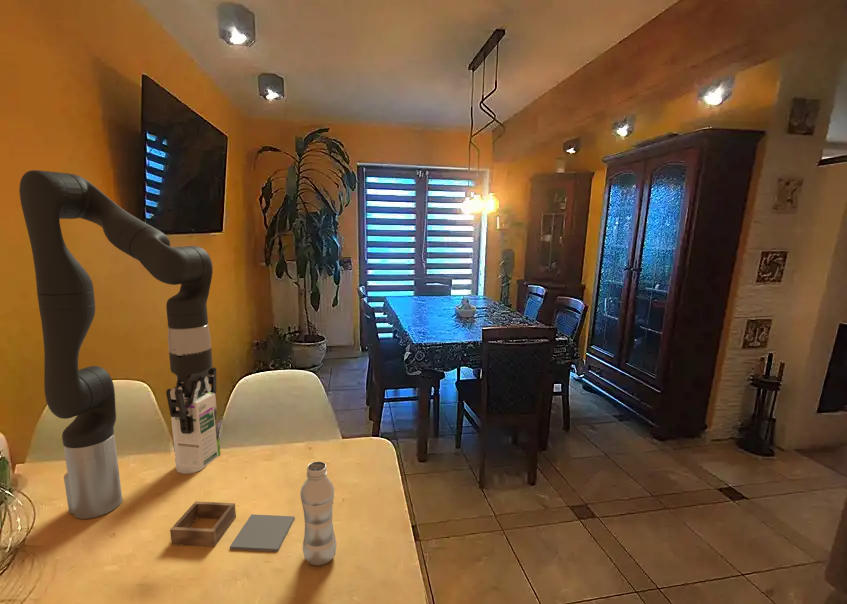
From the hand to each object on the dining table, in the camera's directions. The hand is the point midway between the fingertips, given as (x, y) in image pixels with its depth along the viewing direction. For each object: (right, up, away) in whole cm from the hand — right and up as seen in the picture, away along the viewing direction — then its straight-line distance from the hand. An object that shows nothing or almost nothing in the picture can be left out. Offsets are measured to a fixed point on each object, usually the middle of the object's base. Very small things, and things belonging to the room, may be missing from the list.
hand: (196, 424), depth 90 cm
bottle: (-16, -20, +29) cm, 39 cm away
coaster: (+12, -24, +4) cm, 28 cm away
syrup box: (0, -8, +2) cm, 8 cm away
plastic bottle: (+26, -26, -3) cm, 37 cm away
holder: (0, -24, +4) cm, 24 cm away
